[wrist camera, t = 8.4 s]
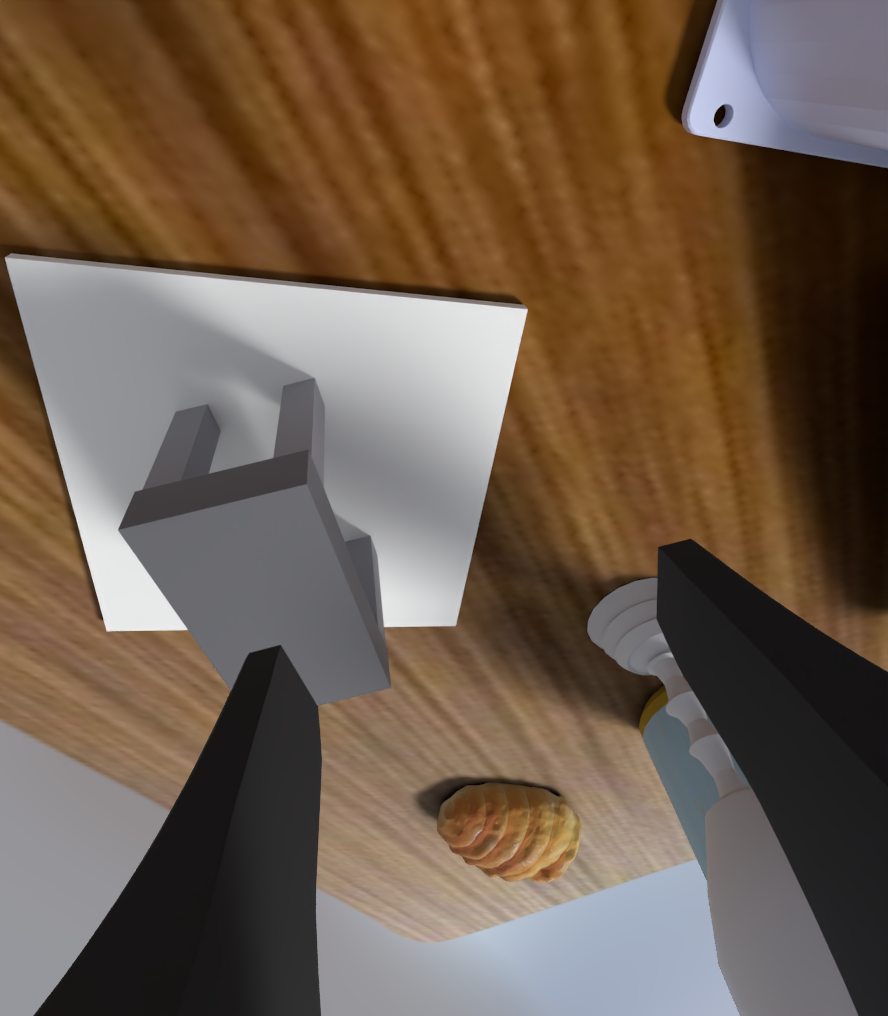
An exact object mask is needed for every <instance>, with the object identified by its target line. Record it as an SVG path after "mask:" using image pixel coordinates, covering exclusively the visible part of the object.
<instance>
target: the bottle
mask: <svg viewBox="0 0 888 1016" xmlns="http://www.w3.org/2000/svg"><path fill="white" fill-rule="evenodd" d="M683 678H684V679H685V677H684V676H683ZM685 680H686V679H685ZM668 701H669V699H668V695H667V691H666V688H665V685H663V686H662V687H661V688H660V689H659V690H658V691H656V692H655V693H654V694H653V695H652V696H651V697H650V699H649V700H648V702H647V703H646V705H645V707H644V709H643V712H642V715H641V718H640V724H639V730H640V733H641V735H642V737H643V740H644V743H645V745H646V748H647V750H648V752H649V754H650V756H651V759H652V761H653V763H654V765H655V767H656V770H657V772H658V774H659V776H660V778H661V781H662V783H663V785H664V787H665V790H666V792H667V794H668V796H669V798H670V801H671V803H672V805H673V807H674V809H675V812H676V814H677V816H678V818H679V820H680V823H681V825H682V827H683V829H684V832H685V834H686V836H687V838H688V840H689V843H690V845H691V847H692V849H693V851H694V854H695V856H696V858H697V860H698V862H699V865H700V867H701V869H702V871H703V873H704V876H705V878H706V880H707V860H706V834H705V816H706V812H707V811H708V810H709V809H710V808H711V806H712V805H713V804H714V803H716V802H717V801H718V800H719V799H720V796H719V793H718V790H717V786H716V783H715V780H714V778H713V777H712V775H711V774H710V773H709V771H708V770H707V769H706V768H705V766H704V765H703V764H702V762H701V761H700V760H699V759H697V758H695V757H693V756H692V755H690V753H689V749H690V743H691V742H690V737H689V733H688V728H687V727H686V726H685V725H684V724H683V723H682V722H681V721H680V720H679V719H678V718H676V717H673V716H670V715H669V714H667V712H666V705H667V703H668ZM706 716H707V720H708V722H709V723H710V724H711V725H712V726H713V727H714V725H713V723H712V722H711V720H710V719H709V717H708V715H707V714H706ZM714 728H715V727H714ZM715 729H716V728H715ZM728 750H729V749H728ZM729 753H730V751H729ZM730 756H731V759H732V762H733V765H734V768H735V770H736V772H737V773H738V774H739V775H740V776H741V778H742V779H743V780H744V781H745V783H746V784H747V785H748V786H749V787H751V786H750V784H749V783H748V781H747V779H746V777H745V776H744V774H743V772H742V771H741V769H740V767H739V766H738V764H737V763H736V761H735V759H734V758H733V756H732V754H731V753H730Z"/></svg>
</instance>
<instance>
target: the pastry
mask: <svg viewBox="0 0 888 1016" xmlns="http://www.w3.org/2000/svg"><path fill="white" fill-rule="evenodd" d="M559 795H560V794H559ZM437 831H438V833H439V835H440V836H441V837H442V838H443V839H444V840H445V841H446V842H447V843H448V844H449V847H450V849H451V851H452V852H453V853H455V854H458V855H461V856H462V857H463V859H464V860H465V862H466V863H467V864H469V865H475V866H477V867H478V868H479V869H481V870H482V871H483V872H484V873H485V874H486V875H488V876H489V877H496V876H499V877H501V878H502V879H504V880H505V881H508V882H513V881H519V880H520V879H522V878H525V877H526V878H529V879H530V880H531V881H533V882H550V881H552V880H554V879H556V878H559V877H561V876H562V875H563V874H564V873H565V871H566V870H567V868H568V866H569V863H570V862H571V861H572V860H574V858H575V856H576V854H577V851H578V847H579V840H580V835H581V821H580V819H579V817H578V815H577V813H576V812H575V811H574V809H573V808H572V807H571V806H570V805H569V804H568V803H567V802H566V801H565V800H564V799H563V797H562V796H561V795H560V797H559V796H556V795H554V794H552V793H551V792H550V791H549V790H546V789H541V788H537V787H527V786H524V785H514V784H505V783H493V782H490V783H485V784H483V785H467V786H465V787H464V788H462V789H460V790H458V791H457V792H456V793H455V794H454V795H453V796H452V797H451V798H449V799H448V800H446V801H445V802H444V803H443V804H442V805H441V807H440V812H439V816H438V820H437Z"/></svg>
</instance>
